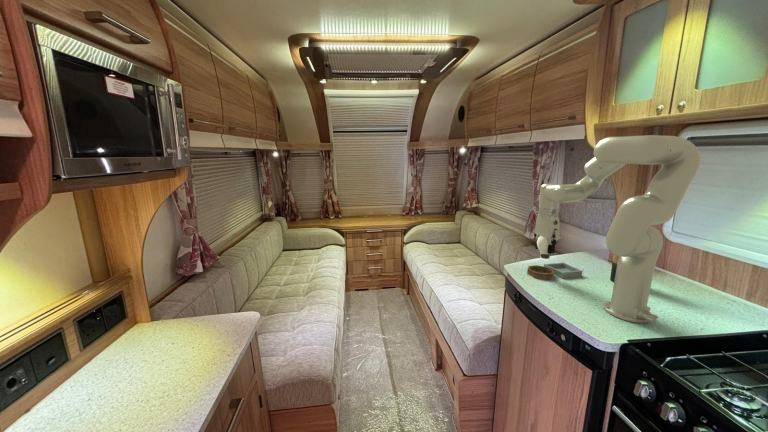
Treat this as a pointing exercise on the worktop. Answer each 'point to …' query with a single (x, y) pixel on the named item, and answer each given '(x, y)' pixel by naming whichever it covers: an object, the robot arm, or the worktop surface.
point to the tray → (564, 270)
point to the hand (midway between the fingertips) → (544, 250)
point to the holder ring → (540, 275)
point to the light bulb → (543, 247)
